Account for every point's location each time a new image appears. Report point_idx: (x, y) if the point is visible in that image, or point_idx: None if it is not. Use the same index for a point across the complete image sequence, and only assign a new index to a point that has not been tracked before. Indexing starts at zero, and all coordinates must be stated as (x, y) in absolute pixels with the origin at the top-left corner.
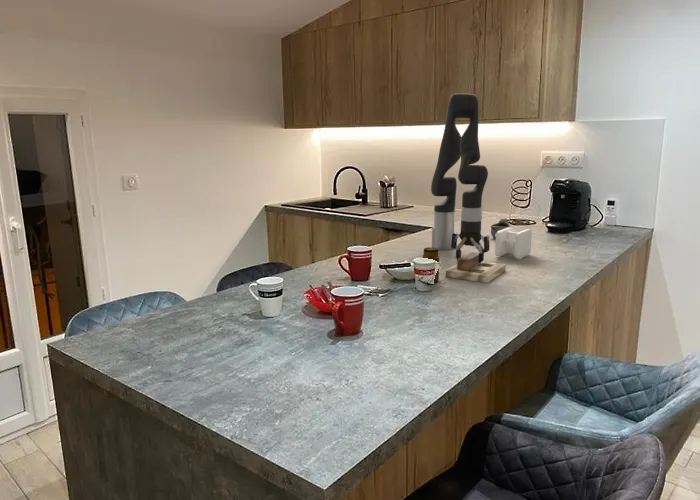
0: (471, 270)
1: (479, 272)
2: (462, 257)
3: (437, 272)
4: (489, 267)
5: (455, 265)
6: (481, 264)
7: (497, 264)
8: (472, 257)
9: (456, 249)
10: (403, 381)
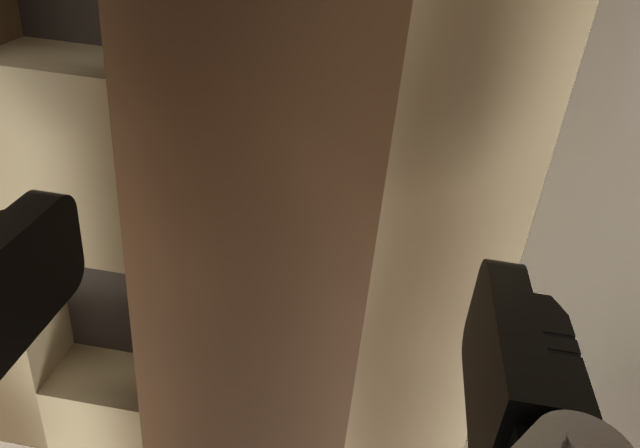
0: None
1: (86, 59)
2: (351, 148)
3: None
4: None
5: (530, 184)
6: None
7: (11, 406)
8: (138, 233)
9: (596, 430)
10: None
